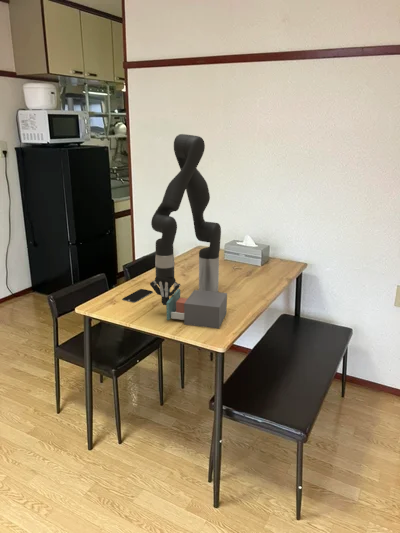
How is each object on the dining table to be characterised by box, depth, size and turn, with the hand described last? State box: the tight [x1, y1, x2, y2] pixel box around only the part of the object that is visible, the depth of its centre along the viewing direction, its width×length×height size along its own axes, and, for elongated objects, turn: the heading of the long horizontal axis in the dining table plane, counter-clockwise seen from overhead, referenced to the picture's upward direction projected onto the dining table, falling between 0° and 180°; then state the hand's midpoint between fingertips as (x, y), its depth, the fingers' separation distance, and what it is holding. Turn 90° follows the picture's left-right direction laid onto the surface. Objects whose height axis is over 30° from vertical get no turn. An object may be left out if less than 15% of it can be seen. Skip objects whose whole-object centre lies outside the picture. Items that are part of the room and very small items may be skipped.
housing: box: [183, 289, 228, 329], centre depth 174 cm, size 15×14×9 cm
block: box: [176, 297, 189, 313], centre depth 176 cm, size 5×5×5 cm
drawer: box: [165, 288, 184, 321], centre depth 176 cm, size 15×14×7 cm
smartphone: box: [121, 288, 154, 304], centre depth 198 cm, size 8×1×15 cm
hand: (165, 304), depth 178 cm, fingers closed
